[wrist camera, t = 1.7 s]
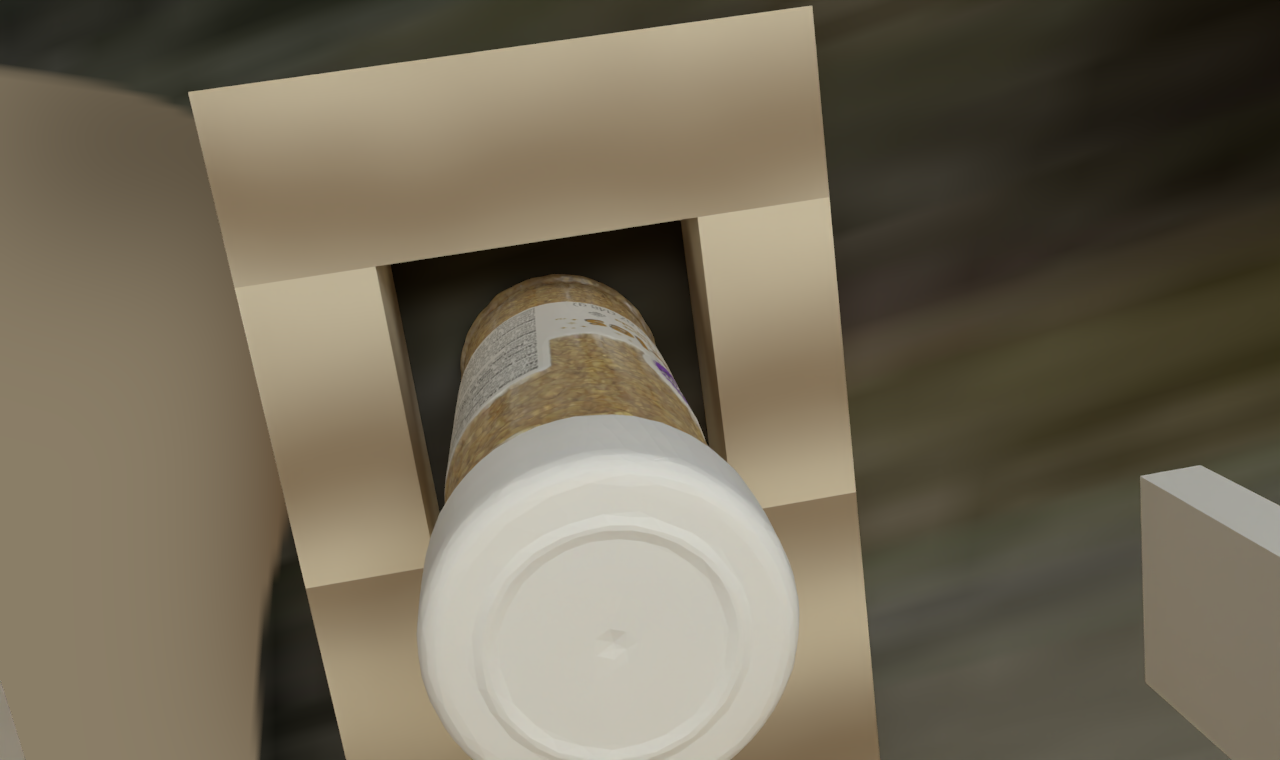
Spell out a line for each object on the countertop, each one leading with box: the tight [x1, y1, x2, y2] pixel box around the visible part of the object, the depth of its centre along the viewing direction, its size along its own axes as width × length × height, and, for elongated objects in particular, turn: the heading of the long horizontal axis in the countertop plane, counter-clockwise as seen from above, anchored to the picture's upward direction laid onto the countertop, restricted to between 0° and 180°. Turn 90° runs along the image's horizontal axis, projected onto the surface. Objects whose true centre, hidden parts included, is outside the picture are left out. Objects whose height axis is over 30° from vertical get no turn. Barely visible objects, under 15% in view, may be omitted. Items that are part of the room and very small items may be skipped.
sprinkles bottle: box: [416, 274, 800, 760], centre depth 19 cm, size 5×5×14 cm
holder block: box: [188, 6, 880, 760], centre depth 25 cm, size 22×12×3 cm, turn 8°
